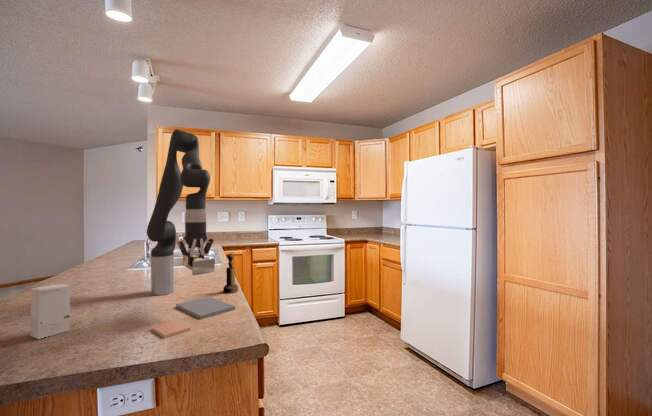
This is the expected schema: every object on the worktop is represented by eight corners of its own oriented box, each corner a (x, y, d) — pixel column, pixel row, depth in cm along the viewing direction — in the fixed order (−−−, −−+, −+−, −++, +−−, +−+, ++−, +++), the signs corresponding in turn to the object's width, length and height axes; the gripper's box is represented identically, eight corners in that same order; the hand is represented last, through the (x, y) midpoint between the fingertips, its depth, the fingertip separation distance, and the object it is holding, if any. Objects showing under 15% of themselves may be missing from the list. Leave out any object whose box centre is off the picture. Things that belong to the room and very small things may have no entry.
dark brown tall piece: (232, 288, 151) (232, 251, 151) (240, 291, 147) (240, 252, 147) (220, 291, 146) (220, 253, 146) (228, 294, 142) (228, 254, 142)
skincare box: (37, 340, 93) (37, 290, 93) (29, 336, 96) (29, 288, 96) (71, 330, 100) (71, 284, 100) (62, 327, 103) (62, 282, 103)
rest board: (176, 307, 123) (176, 304, 123) (209, 299, 134) (209, 296, 134) (200, 319, 110) (200, 315, 110) (235, 309, 121) (235, 306, 121)
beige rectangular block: (176, 266, 122) (176, 254, 122) (196, 263, 128) (196, 251, 128) (193, 275, 112) (193, 261, 112) (214, 271, 118) (214, 259, 118)
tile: (151, 326, 101) (164, 335, 94) (176, 320, 107) (190, 327, 100) (151, 331, 101) (164, 339, 94) (176, 324, 107) (190, 331, 100)
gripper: (208, 220, 127) (208, 262, 128) (172, 221, 117) (173, 267, 117) (217, 220, 122) (217, 264, 122) (181, 222, 112) (181, 270, 112)
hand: (196, 265), depth 120 cm, fingers closed on beige rectangular block, 3 cm apart
